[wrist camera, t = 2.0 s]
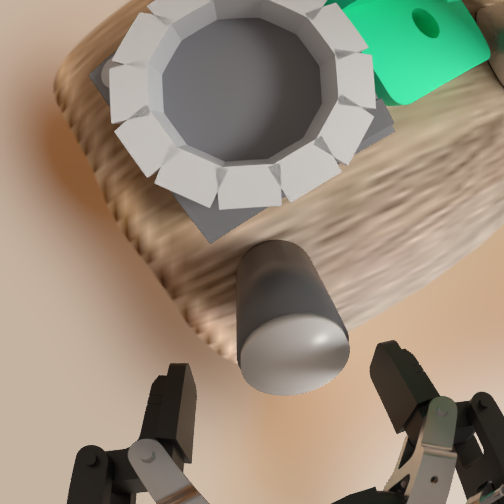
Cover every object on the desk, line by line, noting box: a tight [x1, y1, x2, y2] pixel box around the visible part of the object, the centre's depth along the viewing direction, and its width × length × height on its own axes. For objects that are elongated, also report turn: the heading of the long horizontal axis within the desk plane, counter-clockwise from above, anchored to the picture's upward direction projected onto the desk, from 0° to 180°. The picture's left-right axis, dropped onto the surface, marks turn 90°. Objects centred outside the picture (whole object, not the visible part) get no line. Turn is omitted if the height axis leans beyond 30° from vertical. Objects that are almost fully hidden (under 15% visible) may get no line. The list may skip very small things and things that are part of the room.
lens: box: [236, 240, 350, 396], centre depth 14 cm, size 5×5×8 cm
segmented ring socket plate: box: [89, 0, 395, 244], centre depth 10 cm, size 10×10×6 cm
